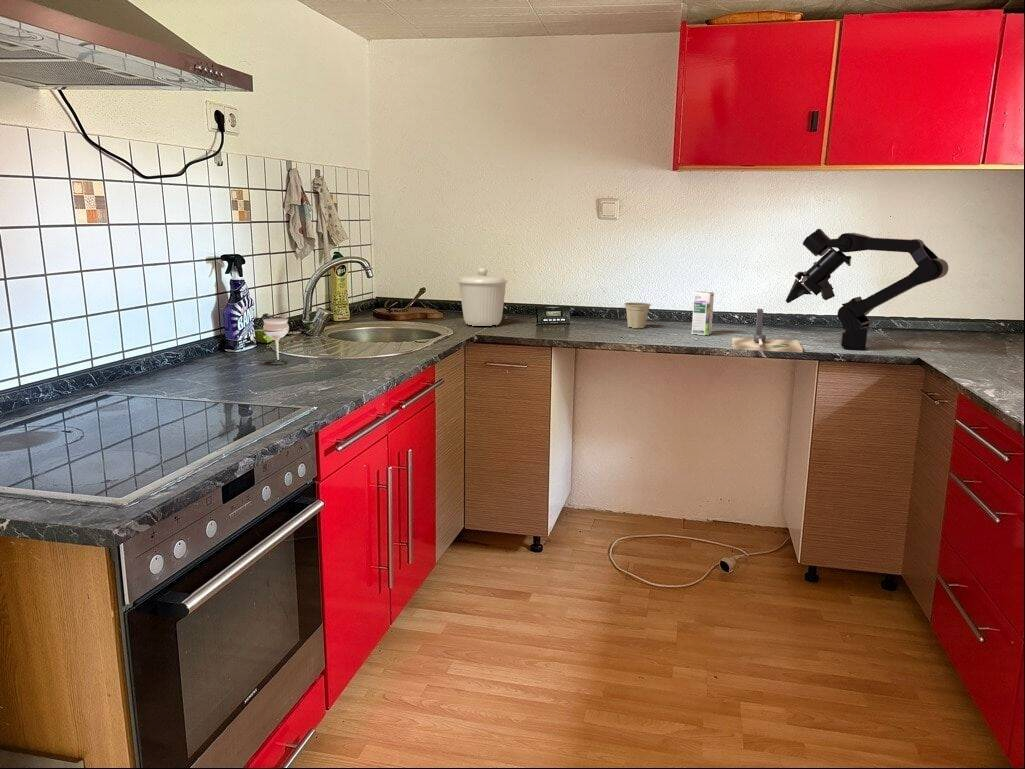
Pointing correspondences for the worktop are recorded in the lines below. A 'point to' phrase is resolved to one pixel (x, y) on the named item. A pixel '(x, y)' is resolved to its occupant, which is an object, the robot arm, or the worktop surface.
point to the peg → (759, 328)
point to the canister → (482, 298)
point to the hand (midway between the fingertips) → (786, 302)
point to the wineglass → (276, 329)
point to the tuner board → (767, 345)
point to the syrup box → (702, 313)
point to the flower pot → (637, 314)
